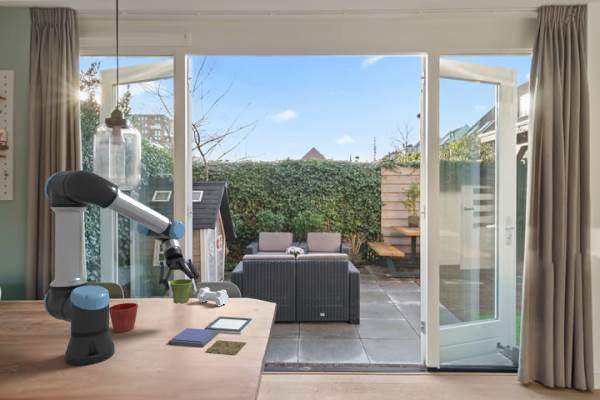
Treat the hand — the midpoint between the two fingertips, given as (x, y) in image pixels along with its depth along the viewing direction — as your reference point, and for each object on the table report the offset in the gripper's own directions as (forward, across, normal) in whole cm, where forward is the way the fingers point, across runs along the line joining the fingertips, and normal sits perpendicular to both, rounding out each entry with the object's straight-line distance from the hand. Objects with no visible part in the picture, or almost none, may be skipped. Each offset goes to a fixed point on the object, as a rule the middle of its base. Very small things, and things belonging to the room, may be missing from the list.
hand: (183, 294), depth 157 cm
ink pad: (+19, 0, -1) cm, 19 cm away
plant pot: (+1, 0, -5) cm, 5 cm away
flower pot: (+1, +20, -21) cm, 29 cm away
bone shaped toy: (-9, -24, -31) cm, 40 cm away
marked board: (+16, -17, -4) cm, 24 cm away
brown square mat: (+31, -7, +10) cm, 33 cm away
